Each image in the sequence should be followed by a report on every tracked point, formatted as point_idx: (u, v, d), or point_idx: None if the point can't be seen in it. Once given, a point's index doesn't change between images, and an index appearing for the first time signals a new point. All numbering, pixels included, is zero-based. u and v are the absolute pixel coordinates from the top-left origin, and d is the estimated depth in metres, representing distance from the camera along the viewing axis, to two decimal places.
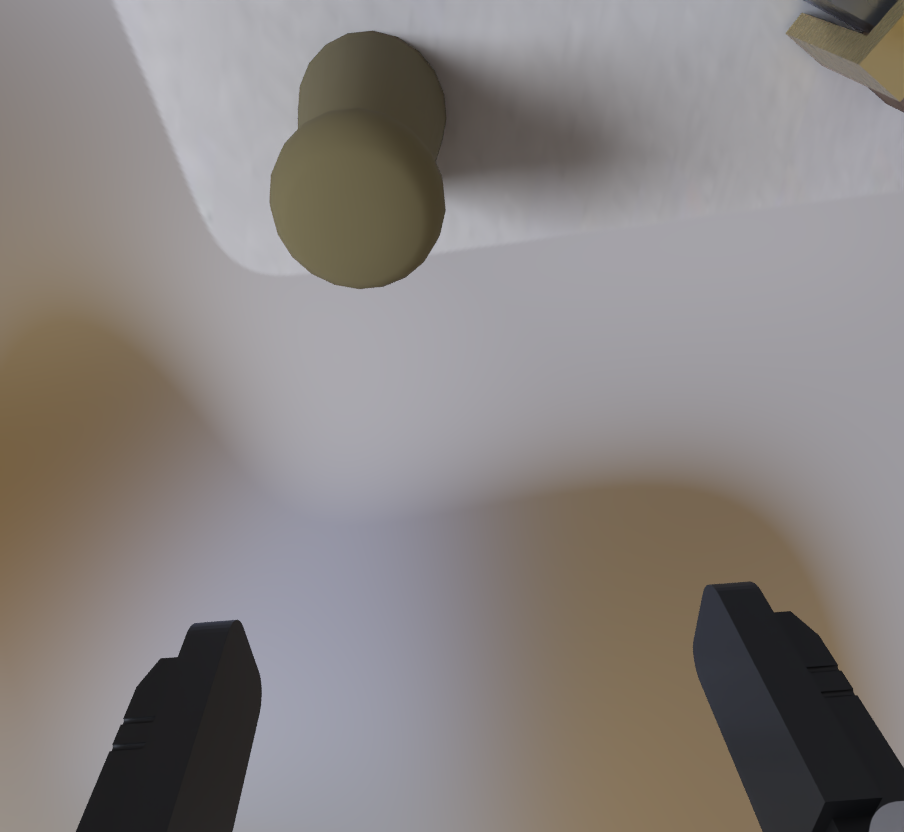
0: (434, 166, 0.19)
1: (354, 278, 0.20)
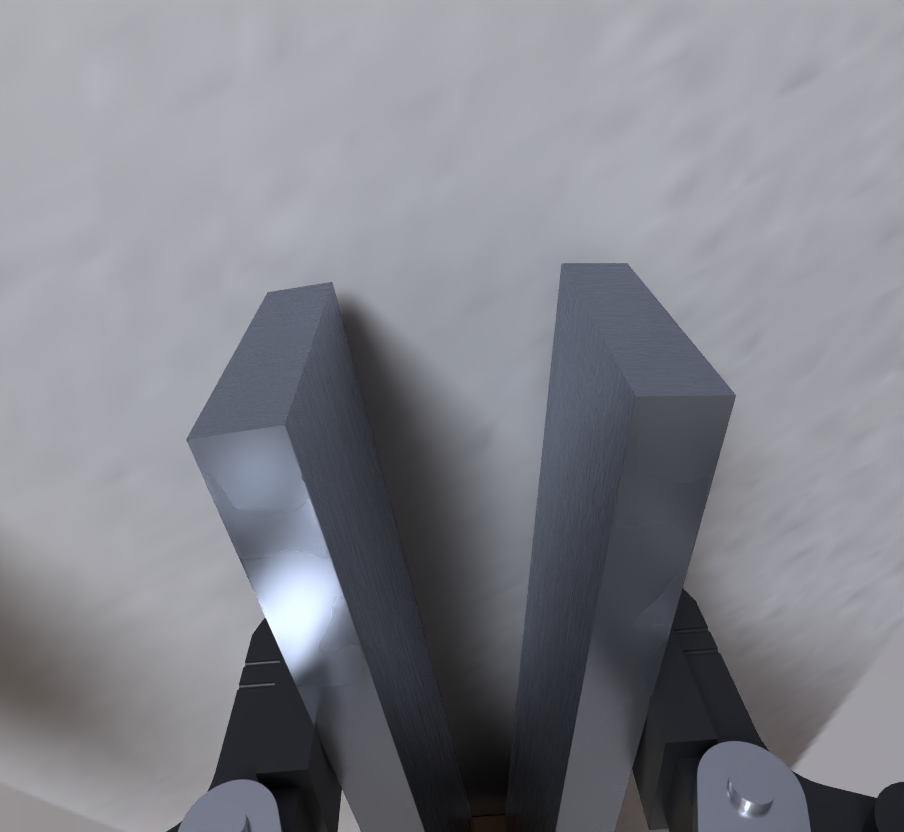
0: None
1: None
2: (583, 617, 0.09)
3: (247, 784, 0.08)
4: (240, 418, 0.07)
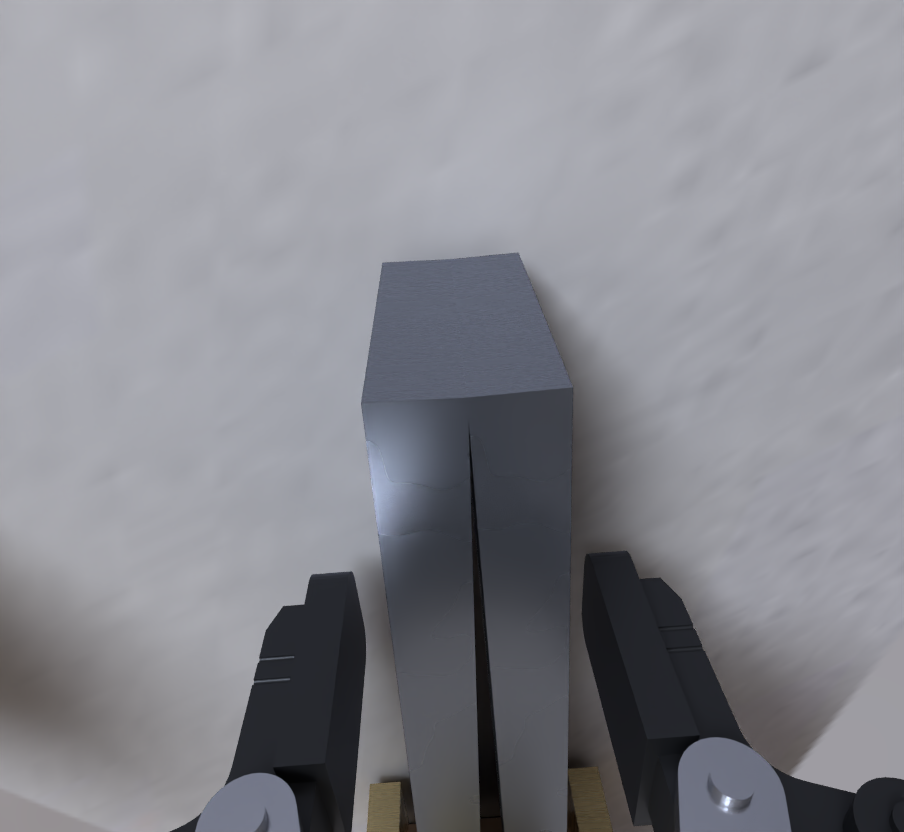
0: None
1: None
2: None
3: (265, 778, 0.08)
4: (413, 387, 0.06)
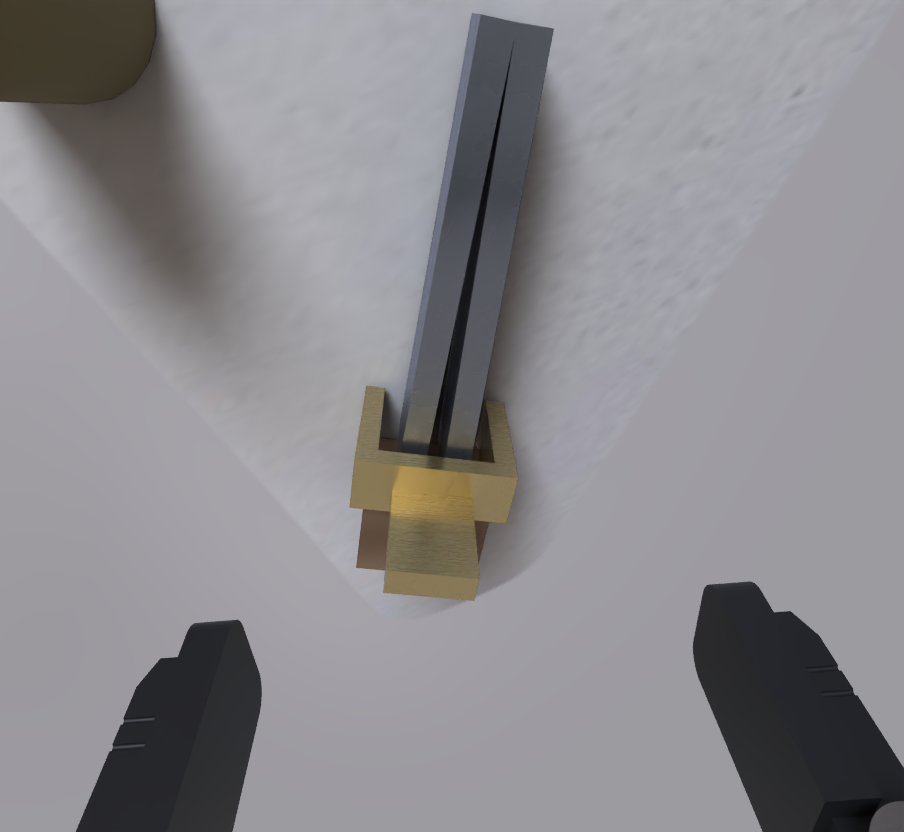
0: None
1: None
2: (492, 161, 0.19)
3: None
4: (498, 18, 0.17)
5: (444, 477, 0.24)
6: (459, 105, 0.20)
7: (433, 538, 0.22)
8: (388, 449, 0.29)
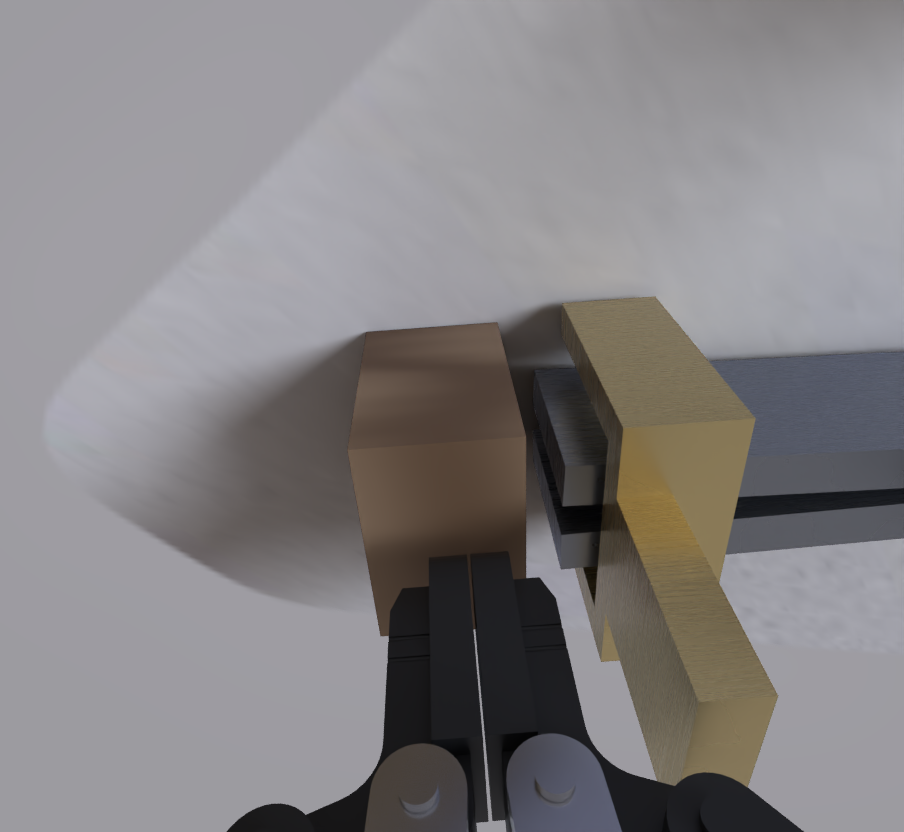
0: None
1: None
2: None
3: (427, 750, 0.08)
4: None
5: None
6: None
7: None
8: None
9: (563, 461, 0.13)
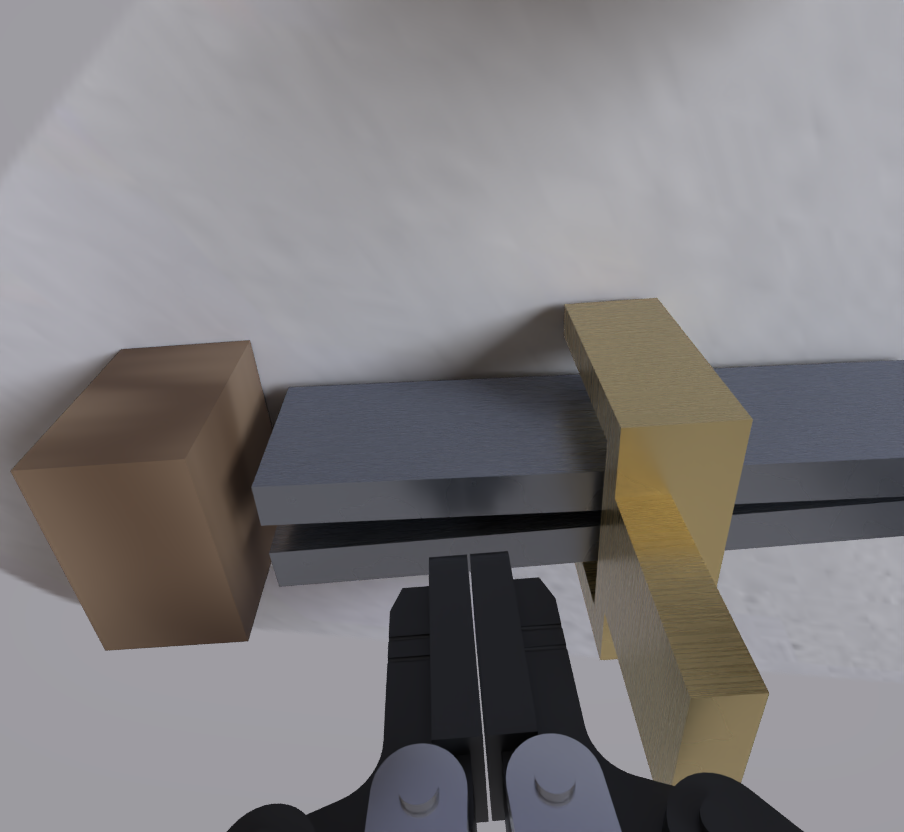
0: None
1: None
2: None
3: (427, 749, 0.08)
4: None
5: (705, 564, 0.13)
6: (877, 405, 0.15)
7: None
8: (249, 384, 0.16)
9: (254, 481, 0.13)
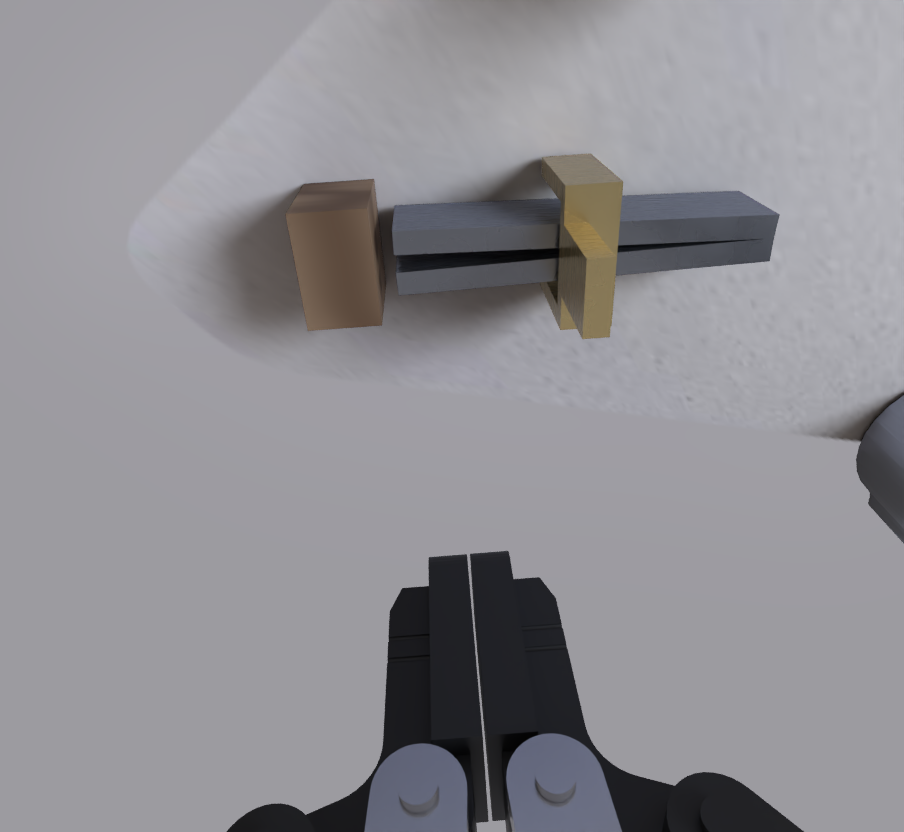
0: None
1: None
2: (685, 243, 0.28)
3: (427, 749, 0.08)
4: (773, 224, 0.27)
5: None
6: (703, 204, 0.28)
7: None
8: (375, 201, 0.29)
9: (392, 230, 0.27)
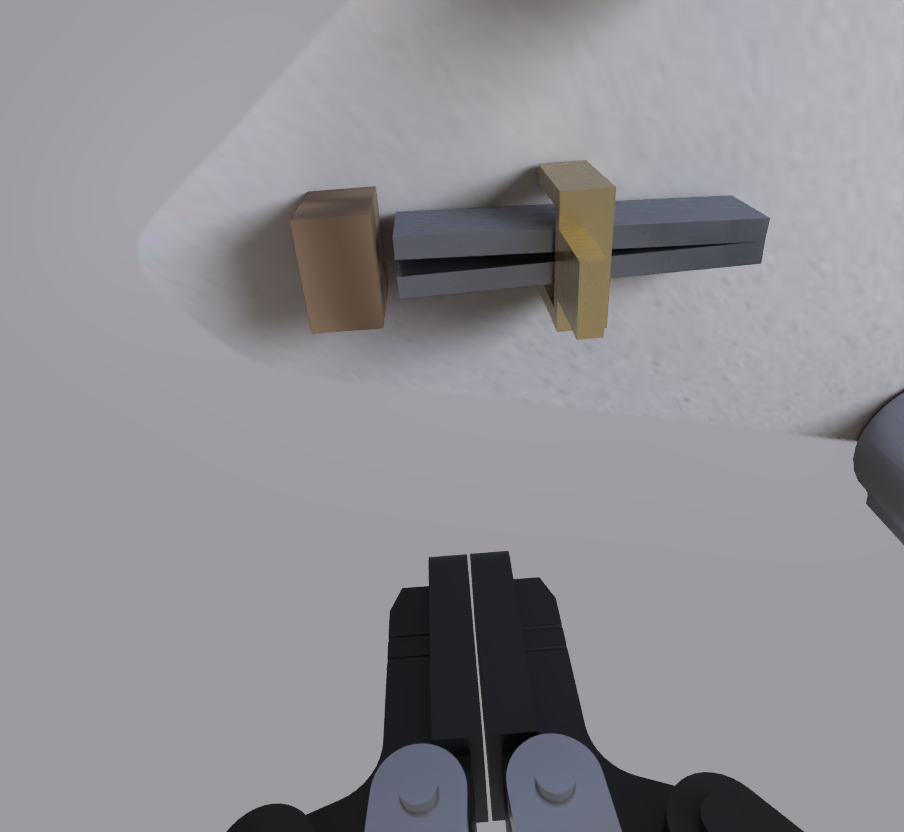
0: None
1: None
2: (678, 246, 0.28)
3: (427, 750, 0.08)
4: (764, 227, 0.28)
5: None
6: (695, 208, 0.29)
7: None
8: (376, 208, 0.30)
9: None
